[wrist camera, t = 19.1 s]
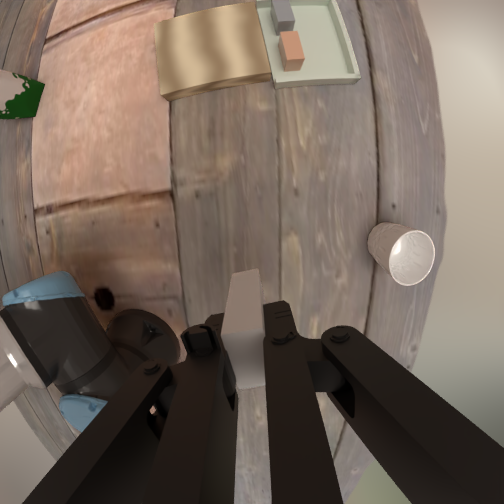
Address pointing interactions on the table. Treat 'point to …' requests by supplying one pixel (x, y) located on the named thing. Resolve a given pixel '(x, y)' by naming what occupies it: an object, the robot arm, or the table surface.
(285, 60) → the terracotta tile
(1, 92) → the milk carton
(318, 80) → the tray
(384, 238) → the white cup
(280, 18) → the slate tile
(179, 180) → the table surface
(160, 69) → the pine board
